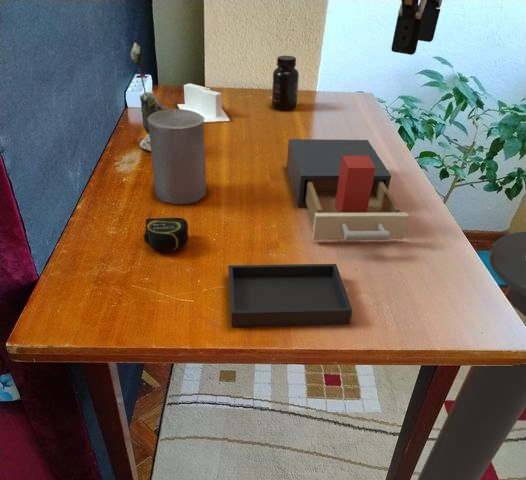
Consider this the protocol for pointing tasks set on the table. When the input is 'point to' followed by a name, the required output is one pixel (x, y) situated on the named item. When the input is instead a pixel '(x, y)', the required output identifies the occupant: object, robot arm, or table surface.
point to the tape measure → (166, 233)
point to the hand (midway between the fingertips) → (412, 46)
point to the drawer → (353, 214)
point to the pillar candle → (178, 155)
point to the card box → (354, 184)
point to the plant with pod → (145, 99)
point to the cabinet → (326, 161)
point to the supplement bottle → (285, 84)
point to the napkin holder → (203, 103)
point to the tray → (287, 295)
